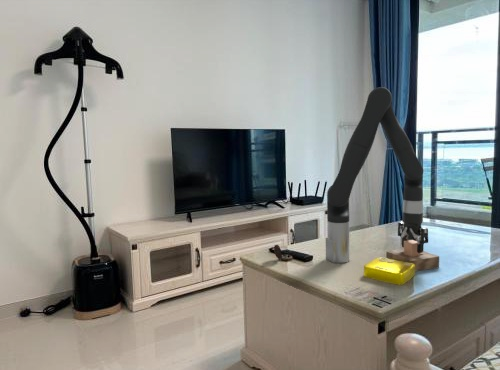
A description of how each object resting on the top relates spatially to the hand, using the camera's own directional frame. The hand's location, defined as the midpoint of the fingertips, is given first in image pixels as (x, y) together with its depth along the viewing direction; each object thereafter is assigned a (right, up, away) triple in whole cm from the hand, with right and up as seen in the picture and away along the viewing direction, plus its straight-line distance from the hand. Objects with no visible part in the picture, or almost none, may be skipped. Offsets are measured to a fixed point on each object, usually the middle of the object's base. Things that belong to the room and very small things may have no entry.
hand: (412, 249), depth 145 cm
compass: (-52, -7, +13) cm, 54 cm away
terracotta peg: (0, -5, +1) cm, 5 cm away
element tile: (-13, -8, -10) cm, 19 cm away
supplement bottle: (+11, -4, +22) cm, 25 cm away
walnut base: (0, -6, +1) cm, 6 cm away
